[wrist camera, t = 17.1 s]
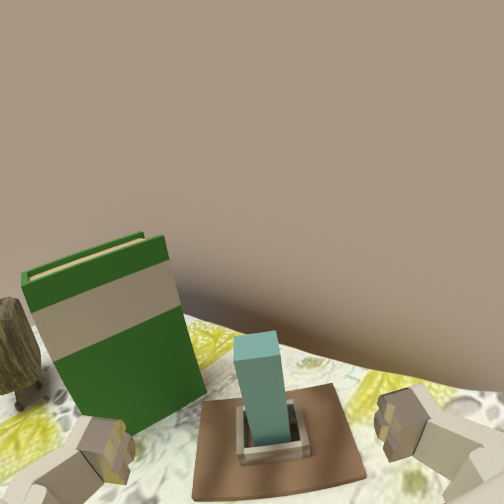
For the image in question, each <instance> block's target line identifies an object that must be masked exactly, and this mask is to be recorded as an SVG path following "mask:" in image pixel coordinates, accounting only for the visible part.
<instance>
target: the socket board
mask: <svg viewBox="0 0 504 504" xmlns="http://www.w3.org/2000/svg"><path fill="white" fill-rule="evenodd" d="M285 395H286V403H287V411H288V419H289V427H290V436H291V442H289V443H283V444H276V445H268V446H260V447H255V445H254V441H253V438H252V434H251V430H250V426H249V422H248V418H247V414H246V410H245V406H244V402H243V398H235V399H225V400H214V401H203V404H202V412H201V420H200V428H199V436H198V444H197V453H196V461H195V470H194V479H193V489H192V499H193V500H194V501H235V500H250V499H261V498H270V497H278V496H286V495H293V494H299V493H305V492H310V491H316V490H321V489H325V488H330V487H334V486H339V485H343V484H347V483H351V482H355V481H358V480H362V479H365V477H366V472H365V470H364V467H363V464H362V461H361V458H360V456H359V453H358V450H357V447H356V445H355V442H354V439H353V436H352V434H351V431H350V428H349V426H348V423H347V420H346V418H345V415H344V412H343V410H342V407H341V404H340V402H339V399H338V396H337V394H336V391H335V388H334V386H333V383H329V384H324V385H319V386H314V387H309V388H304V389H298V390H293V391H287V392H285Z"/></svg>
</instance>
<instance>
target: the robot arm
mask: <svg viewBox="0 0 504 504" xmlns="http://www.w3.org/2000/svg"><path fill="white" fill-rule="evenodd" d="M377 405H378V407H379V410H378V411H377V412H376V413H375V417H374V428H375V431H376V434H377V437H378V439H380V440H382V441H383V442H385V443H384V446H383V450H384V452H385V454H386V456H387V459H388V461H389V463H391V462H394V461H397V460H401V459H404V458H407V457H410V456H413V457H414V458H416V459H417V460H419V461H420V462H422V463H423V464H425V465H426V466H428V467H430V468H431V469H433V470H434V471H436V472H438V473H439V474H441V475H442V476H444V477H446V478H447V479H449V480H451V483H450V484H449V486H448V487H447V488H446V490H445V491H444V493H443V495H442V496H443V498H444V500H445V502H446V503H444V504H504V433H503V432H500V431H497V430H494V429H492V428H489V427H486V426H484V425H481V424H478V423H476V422H473V421H470V420H468V419H465V418H463V417H460V416H458V415H455V414H453V413H450V412H448V413H445V412H444V411H443V409H442V408H441V407H440V405H439V404H438V403H437V401H436V400H435V398H434V397H433V396H432V394H431V393H430V392H429V390H428V389H427V388H426V386H425V385H424V384H422V383H420V384H417V385H414V386H411V387H408V388H404V389H400V390H397V391H394V392H390V393H387V394H383V395H380V396H379V398H378V402H377ZM125 429H126V426H125V424H124V422H123V420H119V419H109V418H101V417H92V416H85V415H82V416H80V417H79V418H78V420H77V422H76V424H75V425H74V427H73V429H72V431H71V433H70V435H69V437H68V439H67V441H66V443H65V445H64V447H59V448H57V449H56V450H54V451H52V452H51V453H49V454H48V455H46V456H44V457H43V458H41V459H40V460H38V461H36V462H35V463H33V464H31V465H30V466H28V467H27V468H25V469H23V470H22V471H20V472H18V473H17V474H15V475H14V477H13V479H12V481H11V483H10V484H9V486H8V488H7V490H6V492H5V494H4V496H3V498H2V500H1V499H0V504H83V503H84V502H85V501H87V500H88V499H89V498H90V497H91V496H92V495H93V494H94V493H95V492H96V491H97V490H98V489H99V488H100V487H101V486H102V485H103V484H104V482H106V483H112V484H120V485H127V481H128V478H129V474H130V469H129V467H128V465H129V464H130V463H131V462H132V461H133V460H134V456H135V444H134V441H133V439H132V437H131V435H129V434H128V433H127V432H125Z"/></svg>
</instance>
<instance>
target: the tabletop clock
mask: <svg viewBox="0 0 504 504" xmlns="http://www.w3.org/2000/svg"><path fill="white" fill-rule="evenodd" d="M40 375H41V353H40V349H39V346H38V343H37V341H36V339H35V336H34V334H33V332H32V329H31V327H30V324H29V322H28V320H27V317H26V315H25V313H24V310H23V308H22V305H21V303H20V301H19V299H16V298H12V297H6V298H3V299H0V395H4V394H7V393H10V392H13V391H15V396H16V401H17V402H16V403H15V408H16V409H17V410H19V411H20V410H22V408H23V406H22V404H21V403H20V402H19V390H20V389H22V388H25V387H28V386H31V385H33V384H34V383H35V386H36V387H37V388H41V387H42V382H41V381H39V380H37V379H38V378H39V377H40Z"/></svg>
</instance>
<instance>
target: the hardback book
mask: <svg viewBox="0 0 504 504" xmlns="http://www.w3.org/2000/svg"><path fill="white" fill-rule="evenodd" d="M21 288H22V290H23V293H24V296H25V299H26V301H27V304H28V307H29V309H30V312H31V314H32V317H33V319H34V322H35V324H36V327H37V329H38V331H39V334H40V336H41V338H42V340H43V342H44V345H45V347H46V349H47V351H48V353H49V355H50V357H51V359H52V361H53V363H54V365H55V367H56V369H57V371H58V373H59V375H60V377H61V379H62V381H63V382H64V384H65V386H66V388H67V390H68V391H69V393H70V395H71V397H72V398H73V400H74V402H75V403H76V405H77V407H78V408H79V410H80V412H81V413H82V415H85V416H92V417H101V418H109V419H119V420H123V422H124V424H125V426H126V429H125V432H127V433H128V434H129V435H131V436H132V435H134V434H136V433H138V432H140V431H142V430H143V429H145V428H147V427H149V426H151V425H153V424H154V423H156V422H158V421H160V420H162V419H163V418H165V417H167V416H169V415H170V414H172V413H174V412H176V411H177V410H179V409H181V408H182V407H184V406H186V405H188V404H189V403H191V402H193V401H194V400H196V399H198V398H199V397H201V396H203V395H204V394H206V393H207V392H206V389H205V386H204V382H203V379H202V376H201V373H200V370H199V367H198V363H197V360H196V357H195V354H194V350H193V347H192V343H191V340H190V337H189V333H188V330H187V326H186V322H185V319H184V315H183V311H182V308H181V304H180V300H179V296H178V293H177V289H176V285H175V281H174V277H173V273H172V269H171V264H170V260H169V256H168V251H167V248H166V243H165V238H164V235H159V236H156V237H152V238H149V239H145V238H144V234H143V232H137V233H134V234H131V235H128V236H125V237H122V238H119V239H116V240H113V241H110V242H107V243H104V244H101V245H98V246H95V247H92V248H89V249H86V250H83V251H80V252H77V253H75V254H72V255H69V256H66V257H64V258H61V259H58V260H55V261H52V262H50V263H47V264H44V265H41V266H39V267H36V268H33V269H31V270H28V271H26V272H23V273H21Z"/></svg>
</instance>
